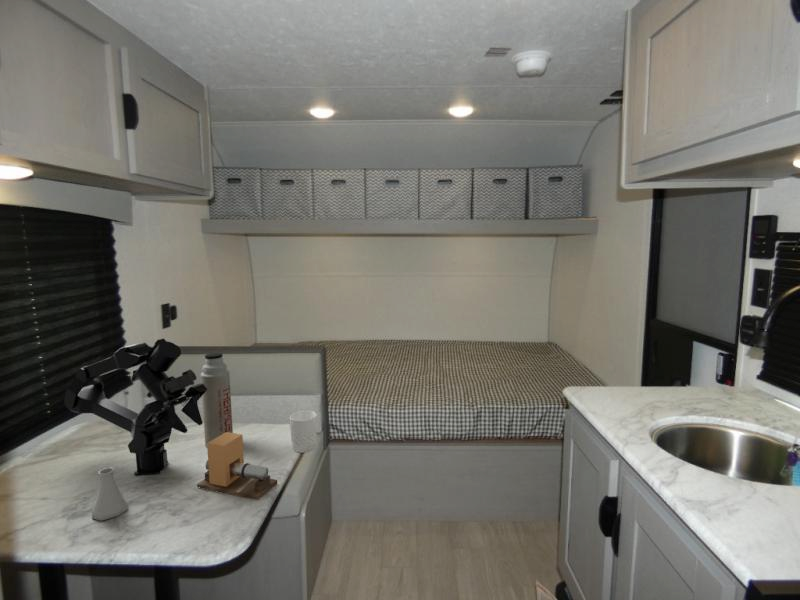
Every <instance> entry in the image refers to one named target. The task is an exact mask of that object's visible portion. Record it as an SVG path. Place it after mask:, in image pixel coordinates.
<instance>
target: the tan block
mask: <svg viewBox="0 0 800 600" xmlns="http://www.w3.org/2000/svg"><path fill="white" fill-rule="evenodd" d="M243 439H244V438H243V434H241V433H236V432H233V433H229V432H226V433H224V434H222V435H220V436H219V437H217V438H215V439H213V440H212V441H210V442H208V443H207V448H206V449H207V460H208V466H209V470H208V471H209V481H210V484H215V485H220V486H225V487H227V486H228V485H229V484H231V483H232V482H233V481H235V480H236V479H237V478H239V477H240V476H237V475H232V474H230V469H229V464H231V463H232V462H238V463H244V464H245V460H244V458H245V457H244V456H245V455H244V442H243Z"/></svg>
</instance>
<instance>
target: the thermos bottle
mask: <svg viewBox="0 0 800 600" xmlns="http://www.w3.org/2000/svg"><path fill="white" fill-rule="evenodd" d="M204 359H205V364H204V365H203V366H202V372H201V373H200V384H204V386H205V387H206V388H207V391H206V392H205V393H204V394H203V395H202V396H201V401H202V416H203V418H202V419H203V429H204V430H203V431H204V444H205V445H204V446H205V448H206V449H207V443H208V442H210V441H212V440H213V439H215V438H217V437H219V436H220V435H222V434H224V433H226V432H229V433H234V429H233V428H234V427H233V426H234V425H233V412H232V398H231V397H232V395H231V392H232V391H231V380H230V379H231V376H230V370H228V369H227V368H228V366H227V363H226V362H224V358H223V353H222V352H212V353H211V352H210V353H207V354H205V355H204Z"/></svg>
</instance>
